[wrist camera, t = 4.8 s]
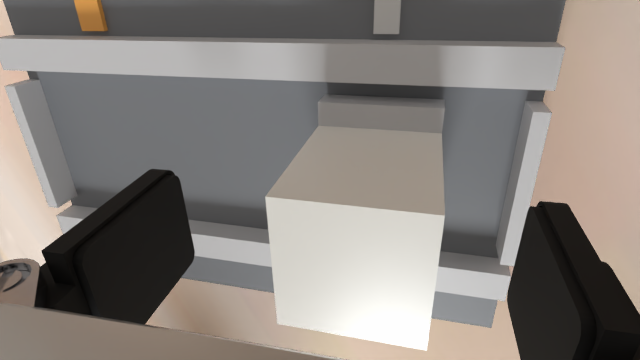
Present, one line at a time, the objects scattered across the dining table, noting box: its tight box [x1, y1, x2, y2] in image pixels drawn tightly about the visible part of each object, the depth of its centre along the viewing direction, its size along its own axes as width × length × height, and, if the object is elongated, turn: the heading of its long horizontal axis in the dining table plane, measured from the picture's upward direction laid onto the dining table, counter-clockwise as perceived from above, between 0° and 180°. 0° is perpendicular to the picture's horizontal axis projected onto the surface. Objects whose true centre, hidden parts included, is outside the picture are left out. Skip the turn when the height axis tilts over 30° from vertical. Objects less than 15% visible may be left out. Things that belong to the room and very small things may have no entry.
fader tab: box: [265, 94, 445, 351], centre depth 13 cm, size 4×6×6 cm
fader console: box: [0, 0, 566, 328], centre depth 17 cm, size 20×14×3 cm
